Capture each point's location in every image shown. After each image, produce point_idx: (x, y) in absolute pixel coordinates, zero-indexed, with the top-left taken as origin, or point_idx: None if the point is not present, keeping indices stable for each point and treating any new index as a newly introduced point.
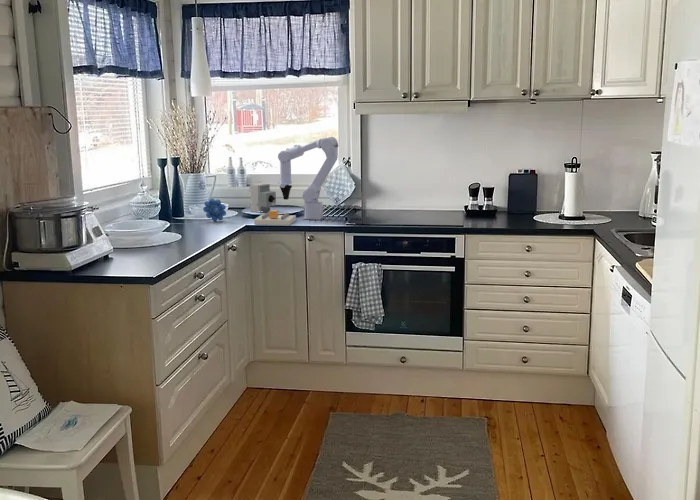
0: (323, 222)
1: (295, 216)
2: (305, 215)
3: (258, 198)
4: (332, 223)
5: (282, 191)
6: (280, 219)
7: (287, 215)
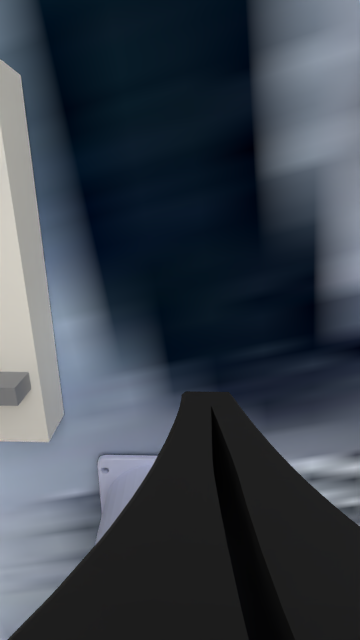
0: (38, 571)
1: (42, 436)
2: (117, 491)
3: None
4: (25, 609)
5: (115, 536)
6: None
7: None
